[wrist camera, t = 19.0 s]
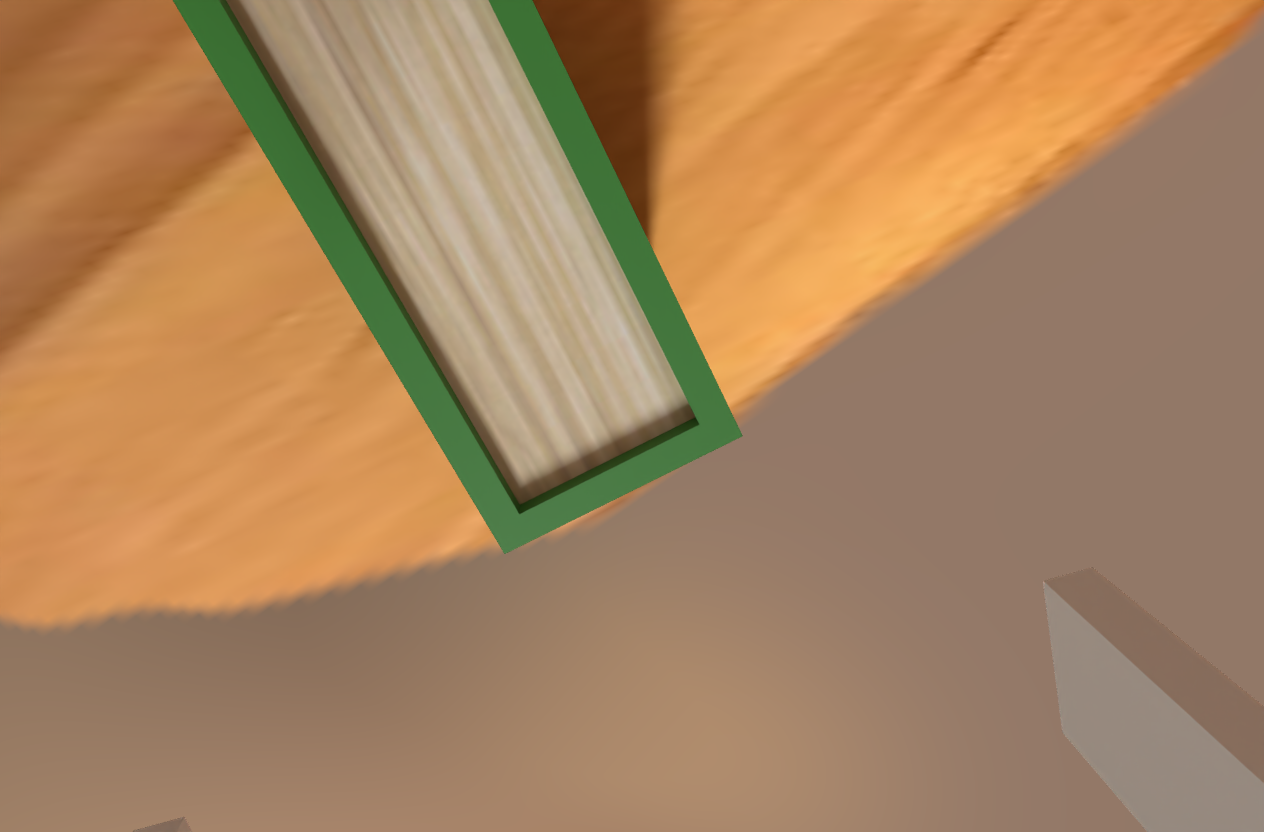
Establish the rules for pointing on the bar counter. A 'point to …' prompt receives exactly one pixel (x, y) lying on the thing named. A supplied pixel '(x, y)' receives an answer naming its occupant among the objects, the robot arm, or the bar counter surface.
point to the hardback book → (477, 241)
